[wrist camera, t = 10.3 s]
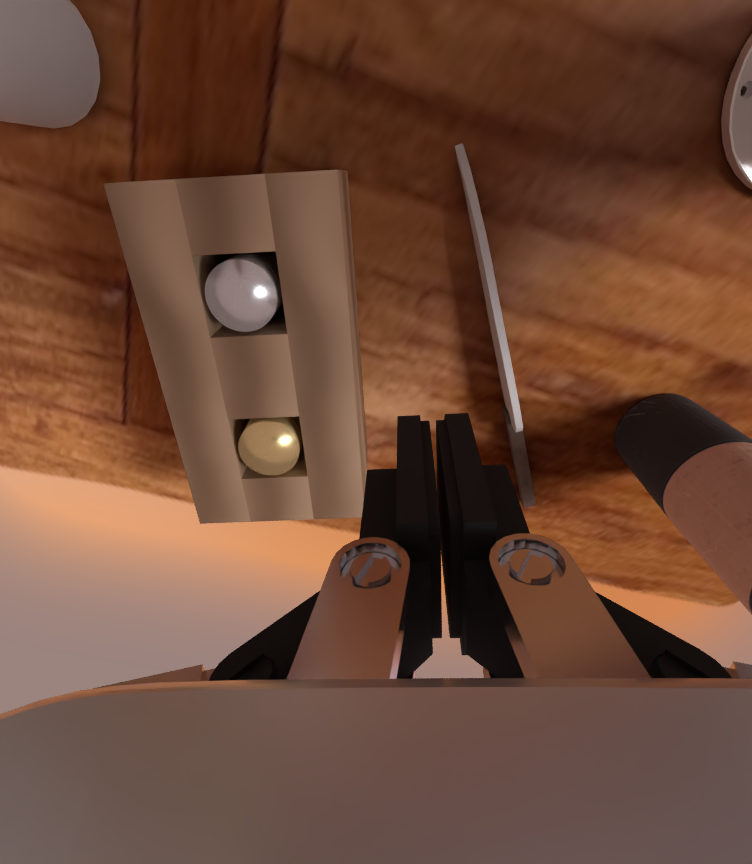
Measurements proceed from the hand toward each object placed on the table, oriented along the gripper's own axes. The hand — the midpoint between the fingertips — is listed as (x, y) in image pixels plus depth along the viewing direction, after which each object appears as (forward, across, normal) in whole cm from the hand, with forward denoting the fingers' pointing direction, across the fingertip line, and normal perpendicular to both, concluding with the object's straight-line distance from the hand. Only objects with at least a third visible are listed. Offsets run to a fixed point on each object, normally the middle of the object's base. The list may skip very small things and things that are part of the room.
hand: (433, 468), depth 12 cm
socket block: (+26, +10, +4) cm, 28 cm away
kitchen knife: (+27, -7, +7) cm, 29 cm away
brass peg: (+25, +10, +10) cm, 29 cm away
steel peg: (+26, +10, 0) cm, 27 cm away
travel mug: (+28, -20, +15) cm, 38 cm away
